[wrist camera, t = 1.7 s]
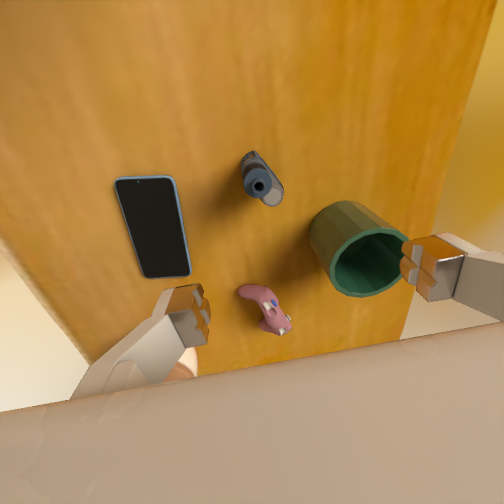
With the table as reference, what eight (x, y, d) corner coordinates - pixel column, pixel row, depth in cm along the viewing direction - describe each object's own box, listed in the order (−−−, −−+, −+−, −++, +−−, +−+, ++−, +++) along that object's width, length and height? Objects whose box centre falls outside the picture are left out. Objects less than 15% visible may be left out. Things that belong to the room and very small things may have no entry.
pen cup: (305, 208, 32) (327, 238, 24) (373, 194, 32) (418, 219, 24) (311, 263, 37) (331, 303, 29) (370, 251, 36) (407, 289, 29)
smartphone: (143, 280, 36) (110, 178, 28) (145, 276, 36) (113, 176, 29) (193, 277, 36) (173, 175, 28) (193, 274, 36) (175, 174, 29)
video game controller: (277, 311, 44) (302, 332, 38) (258, 327, 42) (280, 351, 36) (256, 271, 39) (280, 288, 33) (233, 288, 38) (254, 309, 32)
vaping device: (252, 144, 28) (261, 162, 17) (279, 179, 30) (301, 213, 20) (236, 160, 29) (235, 185, 18) (263, 192, 31) (276, 232, 20)
